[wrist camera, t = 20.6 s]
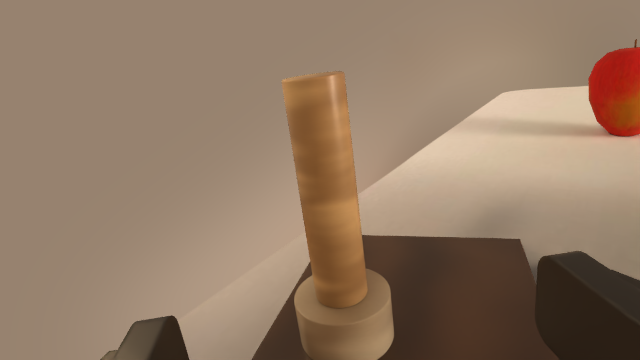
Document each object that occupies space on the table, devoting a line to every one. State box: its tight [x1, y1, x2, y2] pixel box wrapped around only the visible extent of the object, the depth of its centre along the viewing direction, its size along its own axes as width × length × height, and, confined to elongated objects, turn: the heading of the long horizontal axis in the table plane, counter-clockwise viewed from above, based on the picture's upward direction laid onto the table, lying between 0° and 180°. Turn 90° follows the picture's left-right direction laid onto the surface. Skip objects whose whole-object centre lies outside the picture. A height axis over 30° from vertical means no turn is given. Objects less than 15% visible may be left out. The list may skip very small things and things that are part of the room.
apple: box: [589, 39, 640, 136], centre depth 49 cm, size 9×9×12 cm
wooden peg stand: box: [282, 71, 394, 360], centre depth 18 cm, size 5×5×13 cm
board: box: [252, 235, 560, 360], centre depth 23 cm, size 14×14×2 cm
